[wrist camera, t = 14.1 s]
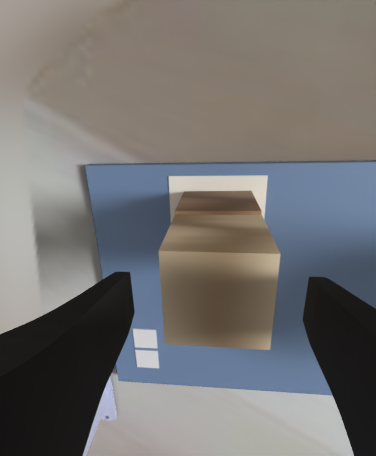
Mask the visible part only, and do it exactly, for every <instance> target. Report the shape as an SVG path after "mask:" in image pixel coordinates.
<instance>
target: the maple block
mask: <svg viewBox="0 0 376 456" xmlns="http://www.w3.org/2000/svg"><path fill="white" fill-rule="evenodd" d="M280 255H281V254H280V252H279V250H278V247H277V245H276V243H275V241H274V239H273V237H272V235H271V233H270V231H269V229H268V227H267V225H266V223H265V221H264V219H263V217H262V215H213V214H175V215H174V218H173V220H172V222H171V224H170V227H169V229H168V231H167V233H166V235H165V238H164V240H163V242H162V244H161V247H160V249H159V266H160V281H161V297H162V312H163V327H164V342H165V344H171V345H188V346H206V347H224V348H242V349H260V350H270V346H271V337H272V328H273V319H274V310H275V301H276V291H277V282H278V273H279V264H280Z"/></svg>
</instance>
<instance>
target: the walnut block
mask: <svg viewBox="0 0 376 456" xmlns="http://www.w3.org/2000/svg"><path fill="white" fill-rule="evenodd" d="M175 214H213V215H261V214H262V211H261V209H260V207H259V205H258V203H257V201H256V199H255V197H254V195H253V193H252V191H184V192H183V194H182V197H181V199H180V201H179V203H178V205H177V207H176V209H175Z"/></svg>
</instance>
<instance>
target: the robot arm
mask: <svg viewBox="0 0 376 456" xmlns="http://www.w3.org/2000/svg"><path fill="white" fill-rule="evenodd" d="M134 313H135V310H134V302H133V293H132V284H131V275H130V272H114V273H112V274H111V275H109V276H107V277H106V278H104V279H103V280H101V281H100V282H98V283H97V284H95V285H94V286H92V287H91V288H89V289H88V290H86V291H84V292H83V293H81V294H80V295H78V296H77V297H75V298H73V299H71V300H70V301H68V302H66V303H65V304H63V305H61V306H60V307H58V308H56V309H54V310H53V311H51V312H49V313H47V314H45V315H43V316H41V317H39V318H37V319H35V320H33V321H31V322H29V323H26V324H24V325H22V326H19V327H17V328H14V329H12V330H10V331H7V332H5V333H2V334H0V456H87V453H88V451H89V448H90V445H91V443H92V440H93V438H94V435H95V433H96V430H97V427H98V425H99V422H100V420H109V421H114V420H116V418H117V411H116V405H115V399H114V393H113V387H112V381H111V373H112V371H113V368H114V366H115V364H116V362H117V359H118V357H119V355H120V353H121V350H122V348H123V346H124V344H125V341H126V339H127V337H128V334H129V331H130V328H131V324H132V321H133V317H134ZM303 323H304V327H305V330H306V334H307V337H308V340H309V343H310V346H311V348H312V350H313V352H314V355H315V357H316V359H317V362H318V364H319V366H320V368H321V370H322V373H323V375H324V377H325V379H326V381H327V384H328V386H329V388H330V390H331V393H332V395H333V397H334V399H335V402H336V404H337V407H338V409H339V412H340V414H341V417H342V420H343V423H344V426H345V429H346V432H347V435H348V438H349V441H350V444H351V447H352V450H353V453H354V456H376V309H375V308H374V307H372V306H371V305H369V304H367V303H366V302H364V301H363V300H361V299H360V298H358V297H356V296H355V295H353V294H352V293H350V292H349V291H347V290H346V289H344V288H343V287H341V286H340V285H338V284H336V283H335V282H333V281H332V280H330V279H328V278H326V277H309V279H308V286H307V293H306V299H305V306H304V313H303Z"/></svg>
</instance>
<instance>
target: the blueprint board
mask: <svg viewBox="0 0 376 456" xmlns="http://www.w3.org/2000/svg"><path fill="white" fill-rule="evenodd" d="M85 168H86V175H87V181H88V187H89V194H90V200H91V207H92V213H93V219H94V226H95V232H96V239H97V245H98V251H99V258H100V264H101V271H102V277H103V279H104V278H106V277H107V276H109V275H111V274H112V273H114V272H130V275H131V284H132V293H133V302H134V310H135V313H134V317H133V321H132V324H131V328H130V331H129V334H128V337H127V339H126V341H125V344H124V346H123V348H122V350H121V353H120V355H119V357H118V359H117V362H116V367H117V373H118V380H119V381H127V382H142V383H157V384H172V385H187V386H202V387H216V388H231V389H246V390H261V391H276V392H291V393H306V394H321V395H332V393H331V390H330V388H329V386H328V384H327V381H326V379H325V377H324V375H323V373H322V370H321V368H320V366H319V364H318V362H317V359H316V357H315V355H314V352H313V350H312V348H311V346H310V343H309V340H308V337H307V334H306V330H305V327H304V323H303V313H304V306H305V299H306V293H307V286H308V279H309V277H326V278H328V279H330V280H332V281H333V282H335V283H336V284H338V285H340V286H341V287H343V288H344V289H346V290H347V291H349V292H350V293H352V294H353V295H355V296H356V297H358V298H360V299H361V300H363V301H364V302H366V303H367V304H369V305H371V306H372V307H374V308H375V309H376V160H373V161H293V162H214V163H135V164H89V165H86V166H85ZM184 191H252V193H253V195H254V197H255V199H256V201H257V203H258V205H259V207H260V209H261V211H262V214H261V215H262V217H263V219H264V221H265V223H266V225H267V227H268V229H269V231H270V233H271V235H272V237H273V239H274V241H275V243H276V245H277V247H278V250H279V252H280V254H281V255H280V264H279V273H278V282H277V291H276V301H275V310H274V319H273V328H272V337H271V346H270V350H260V349H242V348H224V347H206V346H188V345H171V344H165V342H164V327H163V312H162V297H161V281H160V266H159V249H160V247H161V244H162V242H163V240H164V238H165V235H166V233H167V231H168V229H169V227H170V224H171V222H172V220H173V218H174V215H175V209H176V207H177V205H178V203H179V201H180V199H181V197H182V194H183V192H184Z"/></svg>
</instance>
